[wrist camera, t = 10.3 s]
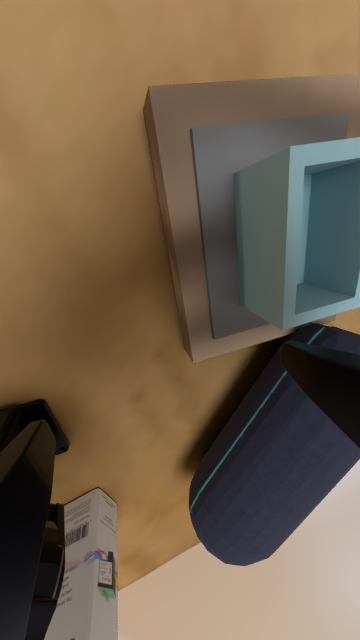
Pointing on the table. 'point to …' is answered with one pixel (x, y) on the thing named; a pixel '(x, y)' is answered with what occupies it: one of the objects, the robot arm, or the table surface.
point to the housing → (300, 233)
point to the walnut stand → (229, 185)
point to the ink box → (88, 572)
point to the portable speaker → (270, 461)
